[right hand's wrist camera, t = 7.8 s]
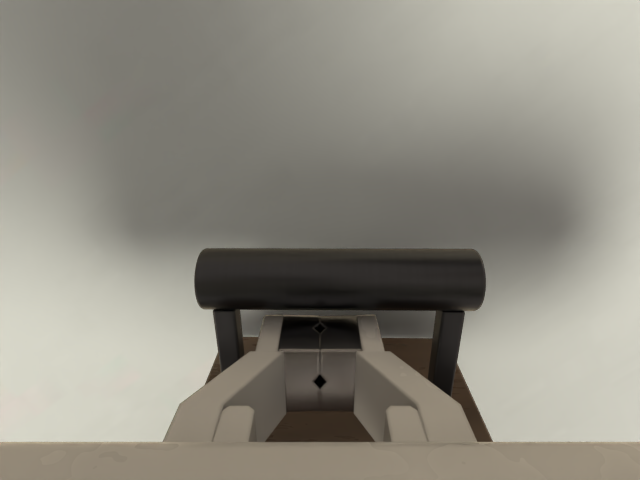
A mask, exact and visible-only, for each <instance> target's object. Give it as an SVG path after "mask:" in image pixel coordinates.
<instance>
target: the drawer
mask: <svg viewBox="0 0 640 480" xmlns="http://www.w3.org/2000/svg"><path fill="white" fill-rule="evenodd" d="M194 284H195V294H196V299H197V302H198V304H199V306H200V307H201V308H203V309H214V310H213V315H214V323H215V331H216V338H217V346H218V354H217V356H216V359H215V361H214V364H213V366H212V369H211V371H210V373H209V376H208V378H207V381H206V383H205V385H206V384H207V383H208V382H210V381H211V380H212V379H214V378H215V377H216V376H218V375H219V374H220V373H222V372H223V371H224V370H226V369H227V368H228V367H230V366H231V365H232V364H234V363H235V362H236V361H238V360H239V359H240V358H242V357H243V356H244V355H246V354H247V353H248V352H250V351H255V350H256V346H257V342H258V338H259V337H243V335H242V325H241V315H240V309H244V310H415V311H436V316H435V324H434V332H433V338H382V342H383V346H384V350H385V351H390V352H392V353H393V354H394V355H396V356H397V357H398V358H400V359H401V360H402V361H404V362H405V363H406V364H408V365H409V366H410V367H412V368H413V369H414V370H416V371H417V372H418V373H420V374H421V375H422V376H423V377H425V378H426V379H427V380H429V381H430V382H431V383H433V384H434V385H435V386H437V387H438V388H439V389H441V390H442V391H443V392H445V393H446V394H447V395H449V396H450V397H451V398H453V399H454V400H455V401H457V402H458V403H459V404H461V406H462V409H463V411H464V413H465V415H466V418H467V420H468V422H469V424H470V427H471V429H472V431H473V433H474V436H475V438H476V440H477V442H493V441H492V439H491V436H490V434H489V432H488V430H487V428H486V426H485V423H484V421H483V419H482V417H481V415H480V412H479V410H478V408H477V406H476V404H475V401H474V399H473V397H472V395H471V393H470V391H469V388H468V386H467V384H466V382H465V380H464V377H463V375H462V373H461V371H460V369H459V366H458V364H457V358H458V352H459V346H460V340H461V333H462V327H463V321H464V315H465V312H464V311H475V310H477V309H479V308H480V307H481V305H482V303H483V300H484V296H485V288H486V277H485V269H484V265H483V261H482V259H481V256H480V255H479V253H478V252H477V251H476V250H474V249H276V248H206V249H204V250H202V251H201V253H200V255H199V257H198V260H197V264H196V269H195V280H194ZM265 442H375V441H374V439H373V438H372V437H371V435H370V434H369V433H368V431H367V430H366V429H365V428H364V426H363V425H362V424H361V422H360V421H359V420H358V418H357V417H356V416H355V414H354V412H341V411H299V412H286V415H285V416H284V417H283V419H282V420H281V421H280V423H279V424H278V425H277V427H276V428H275V429H274V430H273V432H272V433H271V434H270V436H269V437H268V438H267V440H266V441H265Z"/></svg>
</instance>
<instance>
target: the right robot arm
mask: <svg viewBox="0 0 640 480" xmlns="http://www.w3.org/2000/svg"><path fill="white" fill-rule="evenodd" d="M299 411H341V412H354V414H355V416H356V417H357V418H358V420H359V421H360V422H361V424H362V425H363V426H364V428H365V429H366V430H367V431H368V433H369V434H370V435H371V437H372V438H373V439H374V441H375V442H265V441H266V440H267V438H268V437H269V436H270V434H271V433H272V432H273V430H274V429H275V428H276V427H277V425H278V424H279V423H280V421H281V420H282V419H283V417H284V416H285V415H286V412H299ZM0 480H640V442H477V440H476V438H475V436H474V433H473V431H472V429H471V427H470V424H469V422H468V420H467V418H466V415H465V413H464V411H463V409H462V406H461V404H459V403H458V402H457V401H455V400H454V399H453V398H451V397H450V396H449V395H447V394H446V393H445V392H443V391H442V390H441V389H439V388H438V387H437V386H435V385H434V384H433V383H431V382H430V381H429V380H427V379H426V378H425V377H423V376H422V375H421V374H420V373H418V372H417V371H416V370H414V369H413V368H412V367H410V366H409V365H408V364H406V363H405V362H404V361H402V360H401V359H400V358H398V357H397V356H396V355H394V354H393V353H392V352H390V351H385V350H384V346H383V342H382V338H381V334H380V330H379V326H378V322H377V318H376V316H375V315H374V314H372V315H345V316H318V315H265V316H264V318H263V322H262V326H261V330H260V334H259V338H258V342H257V346H256V350H255V351H250V352H248V353H247V354H246V355H244V356H243V357H242V358H240V359H239V360H238V361H236V362H235V363H234V364H232V365H231V366H230V367H228V368H227V369H226V370H224V371H223V372H222V373H220V374H219V375H218V376H216V377H215V378H214V379H212V380H211V381H210V382H208V383H207V384H206V385H204V386H203V387H202V388H200V389H199V390H198V391H196V392H195V393H194V394H192V395H191V396H190V397H188V398H187V399H186V400H184V401H183V402H182V403H180V405H179V407H178V409H177V411H176V413H175V416H174V418H173V420H172V422H171V425H170V427H169V429H168V431H167V433H166V436H165V438H164V440H163V442H0Z"/></svg>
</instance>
